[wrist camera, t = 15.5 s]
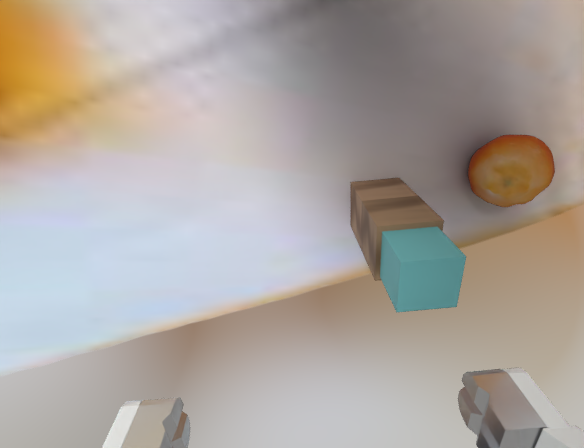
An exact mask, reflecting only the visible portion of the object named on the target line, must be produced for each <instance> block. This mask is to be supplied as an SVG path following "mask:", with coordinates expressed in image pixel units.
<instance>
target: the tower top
mask: <svg viewBox="0 0 584 448" xmlns="http://www.w3.org/2000/svg"><path fill="white" fill-rule="evenodd" d="M443 223H444V220H443V219H442V218H441V217H440V216H439V215H438V214H437V213H436V212H435V211H434V210H432V209H431V208H430V207H429V206H428V205H427V204H426V203H425V202H424V201H423V200H422V199H421V198H420V197H419V196H409V197H398V198H387V199H376V200H366V201H362V216H361V250H362V252H363V254H364V257H365V259H366V261H367V264H368V266H369V268H370V270H371V273H372V275H373V277H374V280H381V278H380V265H381V244H382V232H383V231H394V230H405V229H416V228H427V227H438V228H439V229H440V230H441V231H442V230H443Z"/></svg>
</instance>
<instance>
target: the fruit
mask: <svg viewBox="0 0 584 448" xmlns="http://www.w3.org/2000/svg"><path fill="white" fill-rule="evenodd" d="M554 172H555V169H554V161H553V156H552V153H551V151H550V149H549V147H548V146H547V145H546V144H545V143H544V142H543V141H541V140H540V139H538V138H536V137H534V136H529V135H503V136H500V137H498V138H496V139H494V140H492V141H490V142H489V143H487V144H485V145H484V146H482V147H481V148H479V149H478V150H477V151H476V152H475V153H474V154H473V156H472V157H471V160H470V164H469V170H468V177H469V181H470V185H471V189H472V191H473V192H474V193H475V194H476V195H477V196H478V197H480V198H482V199H483V200H485V201H486V202H488V203H491V204H495V205H498V206H501V207H510V206H512V205H516V204H525V203H527V202H529V201H531V200H533V198H534V197H535V196H537V195H538V194H539V193H540V192H542V191H543V190H544V189H545V188H547V187H548V186H549V185H550V183H551V181H552V178H553V176H554Z"/></svg>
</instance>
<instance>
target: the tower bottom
mask: <svg viewBox="0 0 584 448" xmlns="http://www.w3.org/2000/svg"><path fill="white" fill-rule="evenodd" d="M409 196H418V195H417V194H416V193H415V192H414V191H412V190H411V189H410V188H409V187H408V186H407V185H406V184H405V183H404V182H403V181H402V180H401V179H400V178H391V179H380V180H369V181H358V182H351V227H352V230H353V232H354V234H355V236H356V239H357V241H358V243H359V246H360V248H361V216H362V201H366V200H376V199H387V198H398V197H409Z"/></svg>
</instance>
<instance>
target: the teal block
mask: <svg viewBox="0 0 584 448" xmlns="http://www.w3.org/2000/svg"><path fill="white" fill-rule="evenodd" d="M465 260H466V256H465V255H464V254H463V253H462V252H461V251H460V250H459V248H458V247H457V246H456V245H455V244H454V243H453V242H452V241H451V240H450V239H449V238H448V237H447V236H446V235H445V234H444V233H443V232H442V231H441V230H440V229H439V228H438V227H427V228H416V229H405V230H394V231H383V232H382V244H381V265H380V278H381V280H382V282H383V284H384V286H385V288H386V291H387V293H388V295H389V297H390V299H391V301H392V303H393V305H394V308H395V310H396V312H406V311H417V310H427V309H439V308H450V307H457V302H458V296H459V291H460V286H461V281H462V276H463V271H464V265H465Z"/></svg>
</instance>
